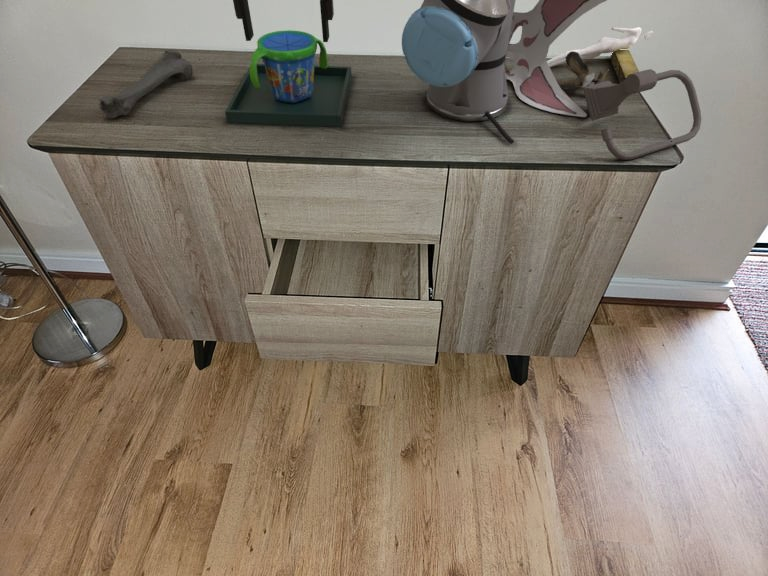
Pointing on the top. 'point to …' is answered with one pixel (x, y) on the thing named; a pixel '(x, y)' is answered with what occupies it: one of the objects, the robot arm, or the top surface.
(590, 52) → the figurine
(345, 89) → the tray
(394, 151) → the top surface
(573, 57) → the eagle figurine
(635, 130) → the top surface
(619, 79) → the decorative block
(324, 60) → the sippy cup
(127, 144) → the top surface
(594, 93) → the toilet paper hanger
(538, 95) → the mask
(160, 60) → the bone
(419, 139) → the top surface
